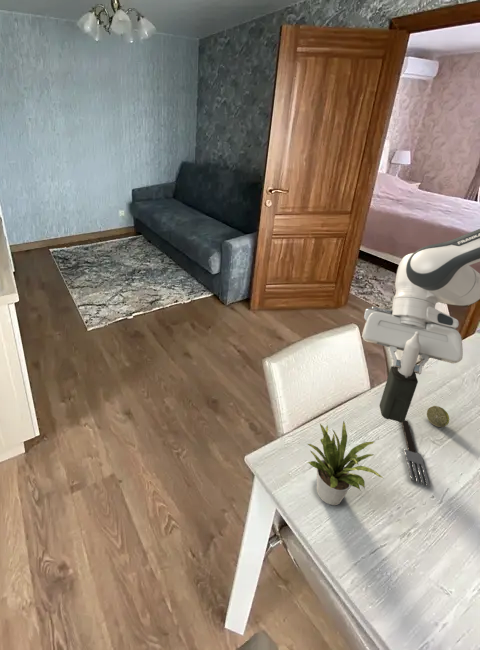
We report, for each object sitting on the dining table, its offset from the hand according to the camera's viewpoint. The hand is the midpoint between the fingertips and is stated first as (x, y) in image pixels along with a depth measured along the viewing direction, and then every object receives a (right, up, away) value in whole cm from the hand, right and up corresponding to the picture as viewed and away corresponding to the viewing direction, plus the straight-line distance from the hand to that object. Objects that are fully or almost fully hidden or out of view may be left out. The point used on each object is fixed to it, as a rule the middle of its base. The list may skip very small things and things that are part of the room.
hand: (406, 370), depth 82 cm
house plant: (-19, -26, -5) cm, 33 cm away
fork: (+4, -22, +5) cm, 23 cm away
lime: (+16, -19, +12) cm, 28 cm away
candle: (0, -13, +6) cm, 15 cm away
